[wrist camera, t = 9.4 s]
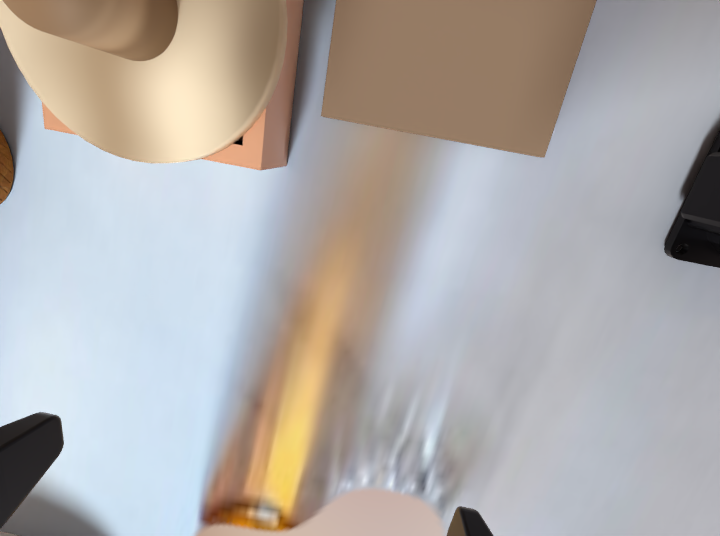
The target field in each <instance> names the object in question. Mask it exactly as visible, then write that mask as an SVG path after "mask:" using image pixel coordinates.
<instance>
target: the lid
mask: <svg viewBox="0 0 720 536" xmlns="http://www.w3.org/2000/svg"><path fill="white" fill-rule="evenodd" d="M287 22H288V20H287V5H286V0H0V27H1V30H2V32H3V35H4V37H5V40H6V43H7V45H8V48H9V50H10V52H11V54H12V56H13V58H14V60H15V62H16V64H17V66H18V67H19V69H20V71H21V72H22V74H23V75H24V77H25V79H26V80H27V82H28V84H29V85H30V86H31V88H32V89H33V90H34V92H35V93H36V94H37V96H38V97H39V98H40V100H41V101H42V102H43V103H44V104H45V105H46V107H47V108H48V109H49V110H50V111H51V112H52V113H53V114H54V115H55V116H56V117H57V118H58V119H59V120H60V121H61V122H62V123H64V124H65V125H66V126H67V127H68V128H69V129H70V130H72V131H73V132H74V133H76V134H77V135H79V136H80V137H81V138H83V139H84V140H86V141H87V142H89V143H91V144H93V145H94V146H96V147H98V148H100V149H102V150H104V151H106V152H109V153H111V154H114V155H116V156H119V157H122V158H126V159H130V160H133V161H139V162H146V163H176V162H186V161H192V160H198V159H202V158H205V157H208V156H211V155H214V154H216V153H218V152H220V151H222V150H224V149H226V148H227V147H229V146H230V145H232V144H233V143H234V142H236V141H237V140H239V139H240V138H241V137H242V136H243V135H244V134H245V133H246V132H247V131H248V130H249V129H250V128H251V127H252V126H253V125H254V124H255V122H256V121H257V120H258V118H259V117H260V116H261V115H262V113H263V111H264V110H265V108H266V106H267V105H268V103H269V101H270V99H271V97H272V95H273V92H274V90H275V88H276V85H277V83H278V80H279V77H280V73H281V69H282V66H283V62H284V56H285V49H286V43H287Z"/></svg>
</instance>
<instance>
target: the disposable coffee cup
mask: <svg viewBox="0 0 720 536" xmlns="http://www.w3.org/2000/svg"><path fill="white" fill-rule="evenodd" d="M13 173H14V169H13V161H12V156H11V153H10V149H9V146H8V144H7V142H6V139H5V137H4V135H3V133H2V132H1V130H0V204H1V203H2V202H3V201H4V200H5V199H6V197H7V196H8V194H9V192H10V190H11V186H12V182H13Z"/></svg>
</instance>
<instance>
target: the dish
mask: <svg viewBox="0 0 720 536" xmlns="http://www.w3.org/2000/svg"><path fill="white" fill-rule="evenodd" d="M303 4H304V0H286V5H287V20H288V22H287V43H286V49H285V56H284V62H283V66H282V69H281V73H280V77H279V80H278V83H277V85H276V88H275V90H274V92H273V95H272V97H271V99H270V101H269V103H268V105H267V106H266V108H265V110H264V111H263V113H262V115H261V116H260V117H259V118H258V120H257V121H256V122H255V124H254V125H253V126H252V127H251V128H250V129H249V130H248V131H247V132H246V133H245V134H244V135H243V136H242V137H241V138H240V139H239V140H237V141H236V142H234V143H233V144H232V145H230V146H229V147H227V148H226V149H224V150H222V151H220V152H218V153H216V154H214V155H211V156H208V157H205V158H202V159H205V160H210V161H215V162H220V163H225V164H231V165H236V166H241V167H246V168H251V169H256V170H266V169H271V168H277V167H283V166H286V165H287V155H288V146H289V136H290V127H291V117H292V108H293V98H294V89H295V79H296V70H297V61H298V51H299V42H300V32H301V23H302V13H303ZM42 107H43V117H44V126H45V129H50V130H55V131H60V132H65V133H70V134H75V135H77V134H76V133H74V132H73V131H72V130H70V129H69V128H68V127H67V126H66V125H65V124H64V123H62V122H61V121H60V120H59V119H58V118H57V117H56V116H55V115H54V114H53V113H52V112H51V111H50V110H49V109H48V108H47V107H46V105H45V104H44V103H43V102H42Z"/></svg>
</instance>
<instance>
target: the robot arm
mask: <svg viewBox="0 0 720 536" xmlns="http://www.w3.org/2000/svg"><path fill="white" fill-rule="evenodd" d="M681 244H682V248H681V250H680V251H678V252H676V249H677V247H678V246H679V245H681ZM664 250H665V253H666V254H667V255H668V256H670V257H672V258H675V259H677V260H683V261H688V262H693V263H698V264H703V265H708V266H713V267H719V268H720V131H719V133H718V135H717V137H716V139H715V141H714V144H713V146H712V148H711V150H710V152H709V154H708V156H707V157H706V159H705V161H704V163H703V165H702V167H701V169H700V172H699V174H698V176H697V178H696V180H695V182H694V184H693V186H692V188H691V190H690V193H689V195H688V197H687V199H686V201H685V203H684V205H683V207H682V209H681V213H680V215H679V217H678V219H677V221H676V223H675V225H674V228H673V230H672V232H671V234H670V236H669V238H668V240H667V242H666V244H665V248H664ZM63 445H64V440H63V432H62V423H61V419H60V417H59V416H57V415H53V414H49V413H44V412H39V413H35V414H33V415H30V416H27V417H25V418H22V419H20V420H17V421H15V422H12V423H9V424H7V425H4V426H2V427H0V529H1V528H2V526H3V525H4V524H5V523H6V522H7V520H8V519H9V518H10V517H11V516H12V514H13V513H14V512H15V511H16V509H17V508H18V507H19V505H20V504H21V503H22V502H23V500H24V499H25V498H26V497H27V495H28V494H29V493H30V491H31V490H32V489H33V488H34V486H35V485H36V484H37V483H38V481H39V480H40V479H41V477H42V476H43V475H44V474H45V472H46V471H47V470H48V469H49V467H50V466H51V465H52V463H53V462H54V461H55V460H56V458H57V457H58V456H59V454H60V452H61V451H62V448H63ZM447 536H493V534H492V533H491V531H490V529H489V528H488V526H487V525H486V523H485V521H484V520H483V518H482V517H481V515H480V514H479V512H478V511H476V510H474V509H471V508H466V507H462V506H459V507H458V508H457V509H456V511H455V513H454V516H453V519H452V521H451V524H450V527H449V529H448V533H447Z"/></svg>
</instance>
